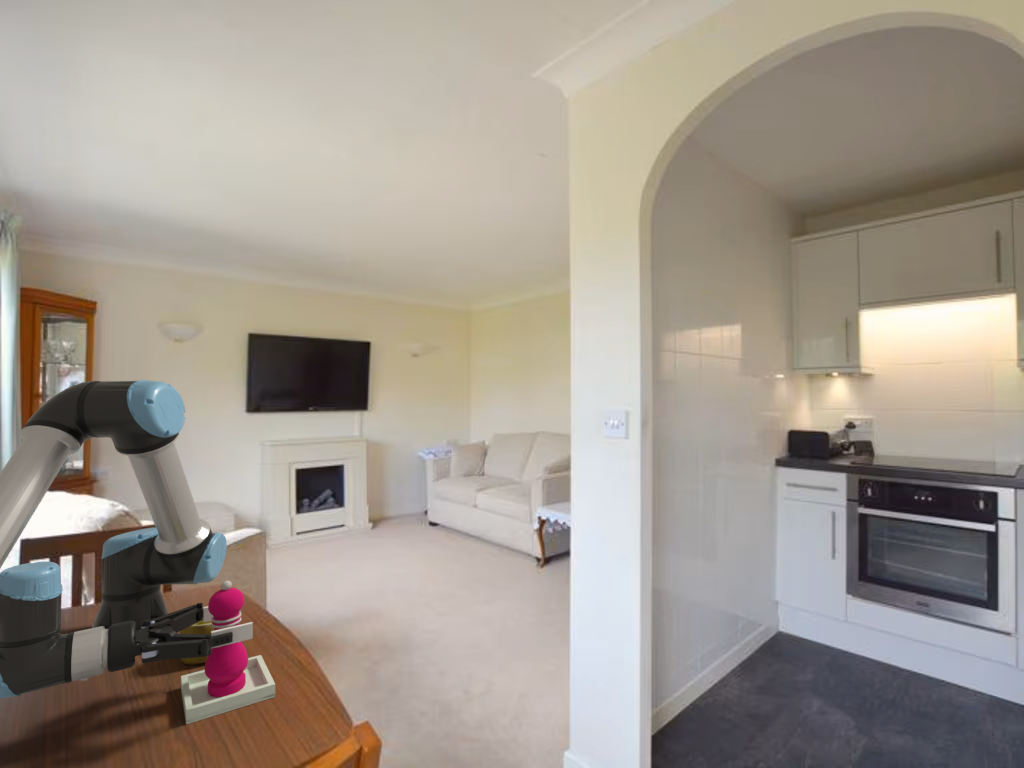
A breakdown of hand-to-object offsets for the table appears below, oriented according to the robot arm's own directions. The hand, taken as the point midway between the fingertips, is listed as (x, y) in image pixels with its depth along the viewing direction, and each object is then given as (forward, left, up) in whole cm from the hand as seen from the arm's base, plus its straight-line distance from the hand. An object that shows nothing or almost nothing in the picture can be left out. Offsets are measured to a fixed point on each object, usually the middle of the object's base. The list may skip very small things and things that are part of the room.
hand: (246, 617), depth 101 cm
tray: (0, -3, -13) cm, 13 cm away
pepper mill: (0, -3, -13) cm, 13 cm away
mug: (-20, -4, -13) cm, 24 cm away
